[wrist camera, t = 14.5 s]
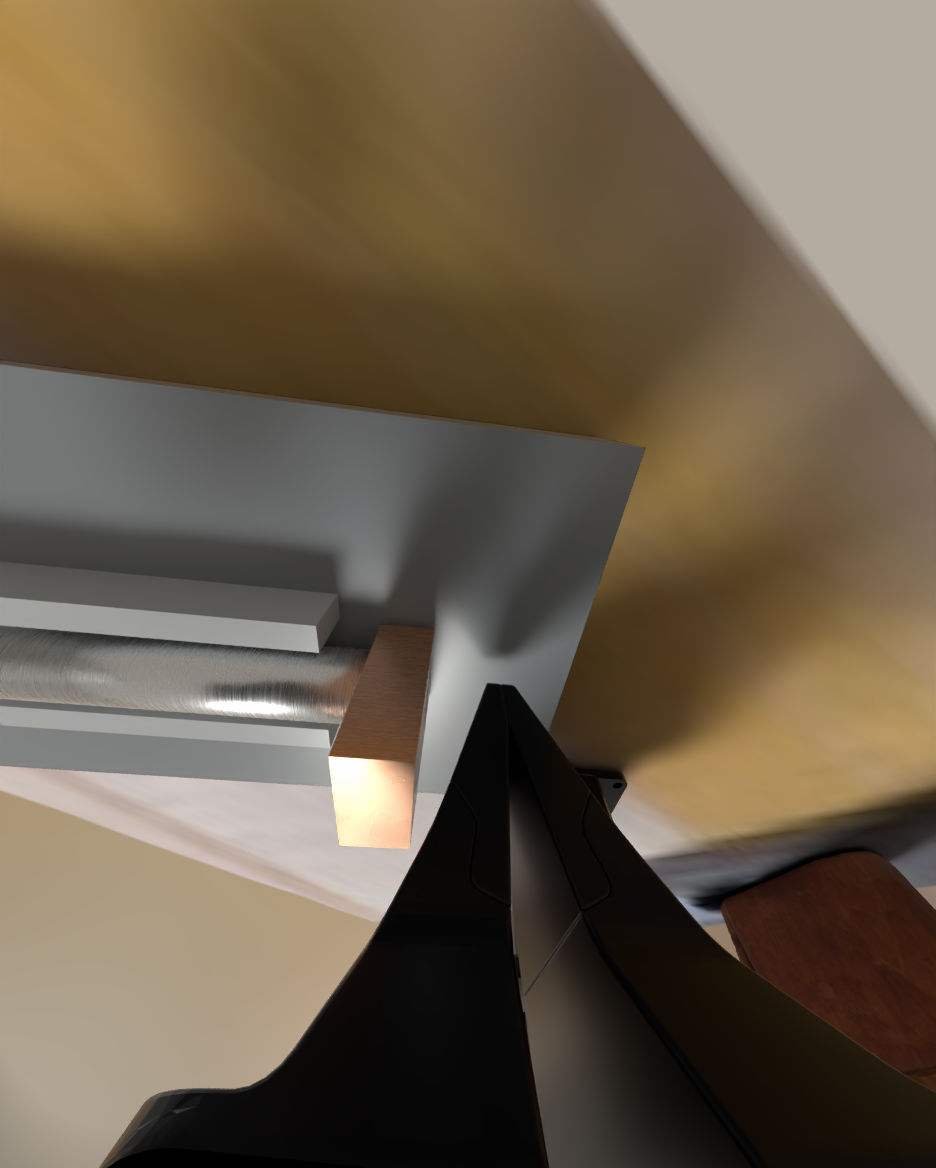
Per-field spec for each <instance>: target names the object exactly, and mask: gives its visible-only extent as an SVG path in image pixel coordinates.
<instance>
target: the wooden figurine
mask: <svg viewBox="0 0 936 1168" xmlns="http://www.w3.org/2000/svg"><path fill="white" fill-rule="evenodd" d="M721 912H722V915H723V917H724V920H725V923H726V925H727V928H728V931H729V933H730V935H731V938H732V941H733V944H734V945H735V947H736V952H737V955H738V957H739V960H740V962H741V963H743V964H744V965H746V966H747V967H749V968H750V969H751V970H753V971H754V972H756V973H757V974H759V975H760V976H762V977H763V978H764V979H766V980H767V981H769V982H770V983H772V984H773V985H775V986H776V987H777V988H779V989H780V990H782V991H783V992H785V993H786V994H788V995H789V996H790V997H792V998H793V999H795V1000H796V1001H798V1002H799V1003H801V1004H802V1005H803V1006H805V1007H806V1008H808V1009H809V1010H811V1011H812V1012H814V1013H815V1014H817V1015H818V1016H819V1017H821V1018H822V1019H824V1020H825V1021H827V1022H828V1023H830V1024H831V1025H832V1026H834V1027H835V1028H837V1029H838V1030H840V1031H841V1032H843V1033H844V1034H845V1035H847V1036H848V1037H850V1038H851V1039H853V1040H854V1041H856V1042H857V1043H858V1044H860V1045H861V1046H863V1047H864V1048H866V1049H867V1050H869V1051H870V1052H871V1053H873V1054H874V1055H876V1056H877V1057H879V1058H880V1059H882V1060H883V1061H884V1062H886V1063H888V1064H889V1065H891V1066H892V1067H894V1068H895V1069H897V1070H898V1071H900V1072H902V1073H903V1074H905V1075H906V1076H908V1077H909V1078H911V1079H913V1080H915V1081H917V1082H919V1083H920V1084H922V1085H924V1086H926V1087H928V1088H930V1089H931V1090H934V1091H936V910H935V909H934V908H933V907H932V906H931V905H930V904H929V903H928V902H927V900H926V899H924V897H923V896H922V895H921V894H920V893H919V892H918V891H917V890H916V889H915V888H914V887H913V886H912V885H911V884H910V882H909V881H908V880H907V879H906V878H905V877H904V876H903V875H902V874H901V873H900V872H899V871H898V870H897V869H896V867H894V866H893V865H892V864H891V863H890V862H888V861H887V860H886V859H884V858H883V857H882V856H880V855H877V854H874V853H873V852H869V851H855V852H847V853H842V854H838V855H835V856H831V857H826V858H822V859H819V860H815V861H813V862H810V863H808V864H805V865H803V866H800V867H798V868H796V869H793V870H791V871H789V872H787V873H785V874H783V875H781V876H778V877H776V878H773V879H771V880H769V881H767V882H764V883H762V884H759V885H757V886H755V887H752V888H750V889H748V890H746V891H744V892H741V893H738V894H735V895H733V896H730V897H728V898H725V899H724V900H723V901H722V903H721Z"/></svg>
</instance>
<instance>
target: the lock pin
mask: <svg viewBox="0 0 936 1168" xmlns="http://www.w3.org/2000/svg"><path fill="white" fill-rule="evenodd" d="M434 630H435V629H434V628H423V627H413V626H402V625H391V624H381V625H380V627H379V630H378V633H377V635H376V638H375V640H374V643H373V645H372V648H371V649H360V648H349V647H337V646H326V645H324V646H323V647H322V649H321V651H320V652H319V653H315V652H303V651H291V650H280V649H268V648H257V647H245V646H234V645H222V644H210V643H199V642H187V641H176V640H164V639H152V638H141V637H129V636H118V635H106V634H95V633H83V632H71V631H60V630H48V629H37V628H25V627H14V626H2V625H0V699H9V700H22V701H36V702H49V703H63V704H76V705H90V706H103V707H117V708H130V709H143V710H157V711H170V712H184V713H197V714H211V715H224V716H237V717H251V718H264V719H278V720H291V721H305V722H318V723H332V724H341V726H340V728H339V731H338V733H337V736H336V738H335V741H334V743H333V746H332V748H331V751H330V753H329V756H328V758H329V766H330V774H331V782H332V790H333V798H334V806H335V814H336V822H337V830H338V837H339V845H343V846H362V847H380V848H399V849H410V842H411V834H412V826H413V819H414V811H415V803H416V795H417V788H418V780H419V772H420V764H421V757H422V749H423V741H424V733H425V726H426V718H427V710H428V701H429V690H430V678H431V667H432V654H433V642H434Z"/></svg>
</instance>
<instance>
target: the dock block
mask: <svg viewBox="0 0 936 1168" xmlns="http://www.w3.org/2000/svg"><path fill="white" fill-rule="evenodd" d="M644 451H645V448H644V447H640V446H635V445H631V444H626V443H621V442H617V441H612V440H607V439H603V438H598V437H591V436H583V435H575V434H568V433H560V432H552V431H545V430H537V429H529V428H521V427H514V426H506V425H498V424H491V423H483V422H475V421H467V420H460V419H452V418H444V417H437V416H429V415H421V414H413V413H406V412H398V411H390V410H383V409H375V408H367V407H359V406H352V405H344V404H336V403H329V402H321V401H313V400H305V399H298V398H290V397H282V396H275V395H267V394H259V393H252V392H244V391H236V390H228V389H221V388H213V387H205V386H198V385H190V384H182V383H174V382H167V381H159V380H151V379H144V378H136V377H128V376H120V375H113V374H105V373H97V372H90V371H82V370H74V369H66V368H59V367H51V366H43V365H36V364H28V363H20V362H12V361H5V360H0V625H2V626H14V627H25V628H37V629H48V630H60V631H71V632H83V633H95V634H106V635H118V636H129V637H141V638H152V639H164V640H176V641H187V642H199V643H210V644H222V645H234V646H245V647H257V648H268V649H280V650H291V651H303V652H315V653H319V652H320V651H321V649H322V647H323V646H324V645H326V646H337V647H349V648H360V649H371V648H372V645H373V643H374V640H375V638H376V635H377V633H378V630H379V627H380V625H381V624H391V625H402V626H413V627H423V628H434V629H435V630H434V642H433V654H432V667H431V678H430V690H429V701H428V710H427V718H426V726H425V733H424V741H423V749H422V757H421V764H420V772H419V780H418V788H417V792H421V793H436V794H445V793H446V790H447V787H448V785H449V783H450V780H451V777H452V775H453V772H454V769H455V766H456V764H457V761H458V758H459V756H460V753H461V750H462V748H463V745H464V742H465V740H466V737H467V734H468V732H469V729H470V726H471V724H472V721H473V718H474V716H475V713H476V710H477V708H478V705H479V702H480V699H481V697H482V694H483V691H484V689H485V686H486V684H487V683H498V684H500V685H501V684H508V685H514V686H515V687H516V688H517V690H518V691H519V692H520V694H521V695H522V696H523V698H524V699H525V701H526V702H527V703H528V705H529V706H530V708H531V709H532V710H533V712H534V713H535V715H536V716H537V717H538V719H539V720H540V721H541V723H542V724H543V726H544V727H545V728H546V730H547V731H548V732H549V729H550V726H551V723H552V720H553V718H554V715H555V712H556V709H557V706H558V703H559V700H560V697H561V694H562V691H563V688H564V685H565V682H566V679H567V676H568V674H569V671H570V668H571V665H572V662H573V659H574V656H575V653H576V650H577V647H578V644H579V641H580V638H581V635H582V632H583V630H584V627H585V624H586V621H587V618H588V615H589V612H590V609H591V606H592V603H593V600H594V597H595V594H596V591H597V588H598V586H599V583H600V580H601V577H602V574H603V571H604V568H605V565H606V562H607V559H608V556H609V553H610V550H611V547H612V544H613V542H614V539H615V536H616V533H617V530H618V527H619V524H620V521H621V518H622V515H623V512H624V509H625V506H626V503H627V501H628V498H629V495H630V492H631V489H632V486H633V483H634V480H635V477H636V474H637V471H638V468H639V465H640V462H641V459H642V457H643V454H644ZM340 726H341V724H332V723H318V722H305V721H291V720H278V719H264V718H251V717H237V716H224V715H211V714H197V713H184V712H170V711H157V710H143V709H130V708H117V707H103V706H90V705H76V704H63V703H49V702H36V701H22V700H9V699H0V766H11V767H27V768H42V769H58V770H74V771H90V772H105V773H121V774H137V775H153V776H169V777H184V778H200V779H216V780H232V781H247V782H263V783H279V784H295V785H310V786H326V787H332V782H331V774H330V766H329V758H328V756H329V753H330V751H331V748H332V746H333V743H334V741H335V738H336V736H337V733H338V731H339V728H340Z"/></svg>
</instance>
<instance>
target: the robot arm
mask: <svg viewBox="0 0 936 1168" xmlns="http://www.w3.org/2000/svg"><path fill="white" fill-rule="evenodd" d="M626 787H627V782H626V780H625V777H624V775H623V774H622V773H619V772H606V771H592V770H577V769H574V767H573V766H572V764H571V763H570V762H569V760H568V759H567V758H566V756H565V755H564V753H563V752H562V751H561V749H560V748H559V746H558V745H557V744H556V742H555V741H554V740H553V738H552V737H551V735H550V734H549V733H548V731H547V730H546V728H545V727H544V726H543V724H542V723H541V721H540V720H539V719H538V717H537V716H536V715H535V713H534V712H533V710H532V709H531V708H530V706H529V705H528V703H527V702H526V701H525V699H524V698H523V696H522V695H521V694H520V692H519V691H518V690H517V688H516V687H515V686H514V685H508V684H501V685H500V684H498V683H487V684H486V686H485V689H484V691H483V694H482V697H481V699H480V702H479V705H478V708H477V710H476V713H475V716H474V718H473V721H472V724H471V726H470V729H469V732H468V734H467V737H466V740H465V742H464V745H463V748H462V750H461V753H460V756H459V758H458V761H457V764H456V766H455V769H454V772H453V775H452V777H451V780H450V783H449V785H448V787H447V790H446V793H445V795H444V798H443V801H442V803H441V805H440V808H439V810H438V813H437V815H436V817H435V820H434V822H433V824H432V826H431V828H430V830H429V832H428V834H427V836H426V838H425V840H424V842H423V844H422V846H421V848H420V850H419V852H418V853H417V855H416V857H415V859H414V861H413V863H412V865H411V867H410V869H409V870H408V872H407V874H406V876H405V878H404V880H403V882H402V884H401V885H400V887H399V889H398V891H397V893H396V895H395V897H394V899H393V901H392V902H391V904H390V906H389V908H388V910H387V912H386V913H385V915H384V917H383V919H382V920H381V922H380V924H379V926H378V927H377V929H376V931H375V932H374V934H373V935H372V937H371V939H370V940H369V942H368V943H367V945H366V946H365V948H364V949H363V951H362V952H361V954H360V955H359V956H358V958H357V959H356V961H355V962H354V963H353V965H352V966H351V968H350V969H349V971H348V972H347V973H346V975H345V976H344V978H343V979H342V981H341V982H340V983H339V985H338V986H337V988H336V989H335V990H334V992H333V994H332V995H331V996H330V998H329V999H328V1000H327V1002H326V1003H325V1005H324V1006H323V1008H322V1009H321V1010H320V1012H319V1013H318V1015H317V1016H316V1018H315V1019H314V1020H313V1022H312V1023H311V1025H310V1026H309V1027H308V1029H307V1030H306V1032H305V1033H304V1034H303V1036H302V1037H301V1039H300V1040H299V1042H298V1043H297V1044H296V1046H295V1047H294V1049H293V1050H292V1051H291V1053H290V1054H289V1055H288V1056H287V1057H286V1058H285V1060H284V1061H283V1062H282V1063H281V1064H280V1065H279V1066H278V1067H277V1068H276V1069H275V1070H273V1071H272V1072H271V1073H270V1074H269V1075H267V1077H265V1078H263V1079H261V1080H259V1081H258V1082H256V1083H254V1084H252V1085H250V1086H246V1087H241V1088H237V1089H220V1088H217V1089H216V1088H192V1089H178V1090H171V1091H166V1092H162V1093H158V1094H156V1095H154V1096H152V1097H150V1098H149V1099H148V1100H147V1101H146V1102H145V1103H144V1104H143V1105H142V1107H141V1108H140V1110H139V1111H138V1113H137V1114H136V1115H135V1117H134V1118H133V1120H132V1121H131V1123H130V1124H129V1126H128V1127H127V1128H126V1130H125V1131H124V1133H123V1134H122V1135H121V1137H120V1138H119V1140H118V1141H117V1143H116V1144H115V1146H114V1147H113V1149H112V1150H111V1152H110V1153H109V1154H108V1156H107V1157H106V1158H105V1160H104V1162H103V1163H102V1164H101V1166H100V1167H99V1168H936V1091H934V1090H931V1089H930V1088H928V1087H926V1086H924V1085H922V1084H920V1083H919V1082H917V1081H915V1080H913V1079H911V1078H909V1077H908V1076H906V1075H905V1074H903V1073H902V1072H900V1071H898V1070H897V1069H895V1068H894V1067H892V1066H891V1065H889V1064H888V1063H886V1062H884V1061H883V1060H882V1059H880V1058H879V1057H877V1056H876V1055H874V1054H873V1053H871V1052H870V1051H869V1050H867V1049H866V1048H864V1047H863V1046H861V1045H860V1044H858V1043H857V1042H856V1041H854V1040H853V1039H851V1038H850V1037H848V1036H847V1035H845V1034H844V1033H843V1032H841V1031H840V1030H838V1029H837V1028H835V1027H834V1026H832V1025H831V1024H830V1023H828V1022H827V1021H825V1020H824V1019H822V1018H821V1017H819V1016H818V1015H817V1014H815V1013H814V1012H812V1011H811V1010H809V1009H808V1008H806V1007H805V1006H803V1005H802V1004H801V1003H799V1002H798V1001H796V1000H795V999H793V998H792V997H790V996H789V995H788V994H786V993H785V992H783V991H782V990H780V989H779V988H777V987H776V986H775V985H773V984H772V983H770V982H769V981H767V980H766V979H764V978H763V977H762V976H760V975H759V974H757V973H756V972H754V971H753V970H751V969H750V968H749V967H747V966H746V965H744V964H743V963H741V962H740V961H739V960H737V959H736V958H734V957H733V956H732V955H731V954H730V953H729V952H727V951H726V950H725V949H724V948H723V947H722V946H721V945H719V944H718V943H717V942H716V941H715V940H714V939H713V938H712V937H711V936H710V935H709V934H708V933H707V932H706V931H705V930H704V929H703V928H702V927H701V926H700V925H699V923H698V922H697V921H696V920H695V919H694V918H693V917H692V916H691V914H690V913H689V912H688V911H687V910H686V908H685V907H684V906H683V905H682V904H681V903H680V901H679V900H678V899H677V898H676V897H675V896H674V894H673V893H672V892H671V891H670V890H669V888H668V887H667V886H666V885H665V884H664V883H663V881H662V880H661V879H660V878H659V877H658V876H657V874H656V873H655V872H654V871H653V870H652V868H651V867H650V866H649V865H648V864H647V863H646V861H645V860H644V859H643V858H642V857H641V856H640V854H639V853H638V852H637V851H636V849H635V848H634V847H633V846H632V845H631V843H630V842H629V841H628V840H627V838H626V837H625V836H624V835H623V834H622V832H621V831H620V830H619V829H618V827H617V826H616V825H615V823H614V822H613V819H612V816H611V813H612V812H613V810H614V808H615V806H616V805H617V803H618V801H619V799H620V797H621V796H622V794H623V792H624V790H625V789H626ZM511 923H512V924H511ZM512 934H513V941H512ZM513 946H514V952H513ZM523 1011H525V1012H523Z"/></svg>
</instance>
